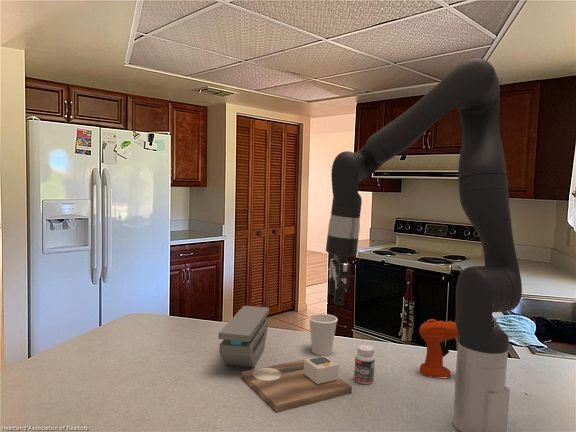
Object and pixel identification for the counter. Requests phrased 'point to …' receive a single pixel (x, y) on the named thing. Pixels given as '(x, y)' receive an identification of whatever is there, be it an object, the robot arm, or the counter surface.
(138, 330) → the counter surface
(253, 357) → the gray lidded box
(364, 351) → the pill bottle
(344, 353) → the counter surface
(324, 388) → the wooden board
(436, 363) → the toy drill
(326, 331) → the dixie cup
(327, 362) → the white small box
